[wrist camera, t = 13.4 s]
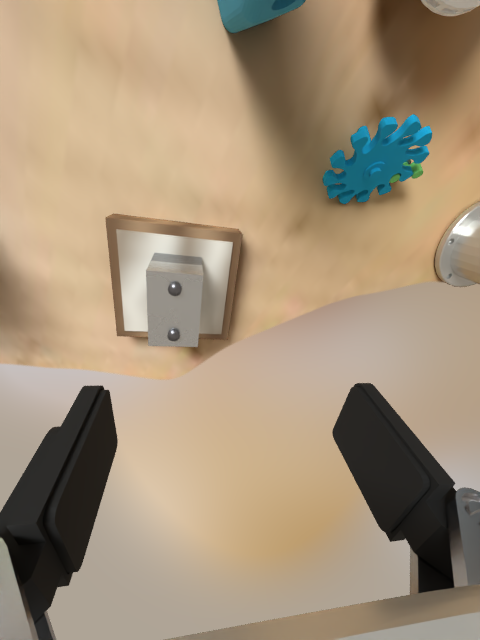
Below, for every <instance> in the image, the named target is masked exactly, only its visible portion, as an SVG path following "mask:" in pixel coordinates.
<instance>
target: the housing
mask: <svg viewBox="0 0 480 640" xmlns="http://www.w3.org/2000/svg"><path fill="white" fill-rule="evenodd" d="M146 287H147V319H148V346H178V347H198V338H199V325H200V313H201V300H202V287H203V267H202V258H201V257H194V256H184V255H174V254H164V253H154V255H153V257H152V259H151V261H150V263H149V265H148V267H147V269H146Z"/></svg>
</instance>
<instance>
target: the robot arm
mask: <svg viewBox="0 0 480 640" xmlns="http://www.w3.org/2000/svg"><path fill="white" fill-rule="evenodd" d="M435 268H436V273H437V275H438V277H439V278H440V279H441V280H442V281H443V282H445V283H447V284H449V285H452V286H455V287H466V286H470V285H474V284H476V283H478V284H480V201H479V202H477V203H475V204H474V205H472V206H471V207H469V208H468V209H466V210H465V211H464V212H463V213H462V214H460V215H459V216H458V217H457V218H456V219H455V220H454V222H453V223H452V224H451V225H450V226H449V228H448V229H447V231H446V232H445V234H444V235H443V237H442V239H441V241H440V243H439V246H438V249H437V252H436V257H435ZM333 437H334V440H335V442H336V444H337V445H338V448H339V450H340V451H341V453H342V455H343V457H344V459H345V461H346V463H347V465H348V467H349V469H350V471H351V473H352V475H353V476H354V479H355V481H356V483H357V485H358V486H359V488H360V490H361V492H362V494H363V496H364V498H365V500H366V502H367V504H368V506H369V508H370V510H371V512H372V514H373V516H374V518H375V520H376V522H377V524H378V525H379V527H380V528H381V530H382V531H384V532H385V533H386V534H387V536H388V538H389V540H390V542H391V541H398V540H404V539H405V538H406V540H407V541H408V543H409V545H410V595H406V596H401V597H395V598H389V599H384V600H378V601H372V602H367V603H361V604H355V605H350V606H344V607H339V608H333V609H328V610H322V611H317V612H311V613H305V614H300V615H295V616H289V617H284V618H278V619H273V620H267V621H262V622H257V623H251V624H245V625H241V626H235V627H230V628H224V629H219V630H213V631H208V632H203V633H197V634H192V635H187V636H182V637H176V638H171V639H165V640H480V492H478V491H476V490H474V489H471V488H460V489H458V490H457V491H456V490H455V489H454V488H453V486H454V484H455V482H454V481H453V480H452V479H451V478H450V476H449V475H448V474H447V473H446V472H445V470H444V469H443V468H442V467H441V466H440V464H439V463H438V462H437V461H436V460H435V458H434V457H433V456H432V455H431V454H430V453H429V451H428V450H427V449H426V448H425V446H424V445H423V444H422V443H421V442H420V440H419V439H418V438H417V437H416V436H415V434H414V433H413V432H412V431H411V430H410V428H409V427H408V426H407V425H406V424H405V422H404V421H403V420H402V419H401V418H400V416H399V415H398V414H397V413H396V412H395V410H394V409H393V408H392V407H391V406H390V404H389V403H388V402H387V401H386V400H385V398H384V397H383V396H382V395H381V394H380V392H379V391H378V390H377V389H376V388H375V386H373V384H371V383H357V384H355V385H354V387H352V388H351V389H350V392H349V394H348V397H347V399H346V401H345V403H344V405H343V408H342V410H341V412H340V415H339V417H338V419H337V422H336V424H335V426H334V428H333ZM116 448H117V434H116V428H115V422H114V416H113V410H112V404H111V398H110V392H109V390H104V387H103V386H84V387H83V388H82V389H81V391H80V393H79V394H78V396H77V398H76V400H75V402H74V403H73V405H72V407H71V409H70V411H69V413H68V414H67V416H66V418H65V420H64V422H63V424H62V425H61V427H53V428H52V429H50V430H49V432H48V433H47V434H46V436H45V438H44V439H43V441H42V443H41V444H40V446H39V448H38V449H37V451H36V453H35V455H34V456H33V458H32V460H31V461H30V463H29V465H28V466H27V468H26V470H25V472H24V473H23V475H22V477H21V478H20V480H19V482H18V483H17V485H16V487H15V489H14V490H13V492H12V494H11V495H10V497H9V499H8V500H7V502H6V504H5V506H4V507H3V509H2V511H1V512H0V640H56V637H55V634H54V631H53V628H52V625H51V622H50V619H49V616H48V613H47V609H48V608H49V607H50V606H51V604H52V601H53V598H54V595H55V592H56V589H57V587H61V586H68V585H69V583H70V580H71V577H72V573H73V572H78V571H79V569H80V567H81V565H82V562H83V559H84V556H85V552H86V549H87V546H88V542H89V539H90V536H91V532H92V529H93V526H94V522H95V519H96V516H97V512H98V509H99V506H100V502H101V499H102V496H103V492H104V489H105V486H106V482H107V479H108V475H109V472H110V469H111V466H112V462H113V459H114V456H115V452H116Z"/></svg>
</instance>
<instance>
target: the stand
mask: <svg viewBox="0 0 480 640" xmlns="http://www.w3.org/2000/svg"><path fill="white" fill-rule="evenodd" d="M106 228H107V238H108V248H109V258H110V268H111V278H112V289H113V299H114V309H115V319H116V329H117V336H130V337H148V319H147V287H146V269H147V267H148V265H149V263H150V261H151V259H152V257H153V255H154V253H164V254H174V255H184V256H194V257H201V258H202V267H203V287H202V300H201V313H200V325H199V338H198V339H227V340H228V333H229V326H230V319H231V312H232V305H233V298H234V290H235V283H236V276H237V269H238V262H239V255H240V248H241V241H242V233H241V232H240V231H239V229H233V228H225V227H217V226H209V225H201V224H192V223H184V222H176V221H168V220H160V219H152V218H144V217H136V216H128V215H120V214H112V215H110V216H108V217H106Z"/></svg>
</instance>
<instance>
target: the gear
mask: <svg viewBox="0 0 480 640" xmlns="http://www.w3.org/2000/svg"><path fill="white" fill-rule="evenodd" d="M397 126H398V124H397V122H396V119H395V118H394V117H385V118H383V119H382V120H381V121H380V123H379V125H378V131H377V133H376V135H375V137H374V138H373V139H372V141H371V138H370V135H369V132H368V129H367V126H362V127H360V128H359V129H358V131H357V133H355V134H353V135H352V136H351V138H350V139H351V143H352V147H353V148H354V149H355V151H354V155H353V157H352V158H351V159H349V160H346V159H345V156H344V152H343V151H342V150H338V151H337V152H336V153H334V154H333V155H332V157H331V158H330V161H331V165H332V167H333V168H340V169H343V170H344V171H343V172H342V173H340V174H335V172H334V171H333V170H328V171H326V172H325V174H324V176H323V183H324V186H328V187H327V192H328V196H329V199H331V198H334V197H336V196H337V195H338V197H339V201H340V202H341V203H343V204H346V203H348V202H349V201H350V200H351V198H352V197H353V196H355V195H356V198H357V202H366V201H367V200H368V199H369V196H370V193H371V192H372V191H373V190H374V189H375V188H376V187H377V186H378V187H377V190H378V193H379V195H382V194H385V193H388V192H390V191H391V186H390V183H394V182H396V181H398V180H399V181H401V182H402V181H404V180H406V179H408V178H409V177H411V176H412V178H418V177H419V176H421V175H422V174H423V170H422V167H421V164H420V163H421V162H423V161H424V160H425V158H426V157H427V156H428V155H429V151H428V148H427V146H424V145H426V144H428V143H429V142H430V141H431V138H432V131H431V129H430V126H426V127H424V128H422V129H421V124H420V121H419V119H418V117H417V116H416V115H414V114H413V115H411V116H410V117H408V118H407V119H406V120H405V122H404V123H403V124H402V126H401V127H400V128H399V129H398V130H397V131H395V130H396V129H397ZM420 129H421V130H420ZM394 131H395V132H394ZM393 132H394V133H393ZM392 133H393V134H392ZM390 134H391V135H390ZM389 135H390V136H389ZM410 135H411V136H410ZM387 136H388V137H387ZM406 136H409V137H407V138H404V137H406ZM386 137H387V138H386ZM402 138H404V139H402ZM414 145H417V146H421V147H419V148H416V149H408V148H410V147H411V146H414ZM410 159H413V160H414V162H413V163H411V160H410ZM410 163H411V164H410ZM389 181H390V183H389ZM336 183H342V184H340V185H336Z"/></svg>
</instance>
